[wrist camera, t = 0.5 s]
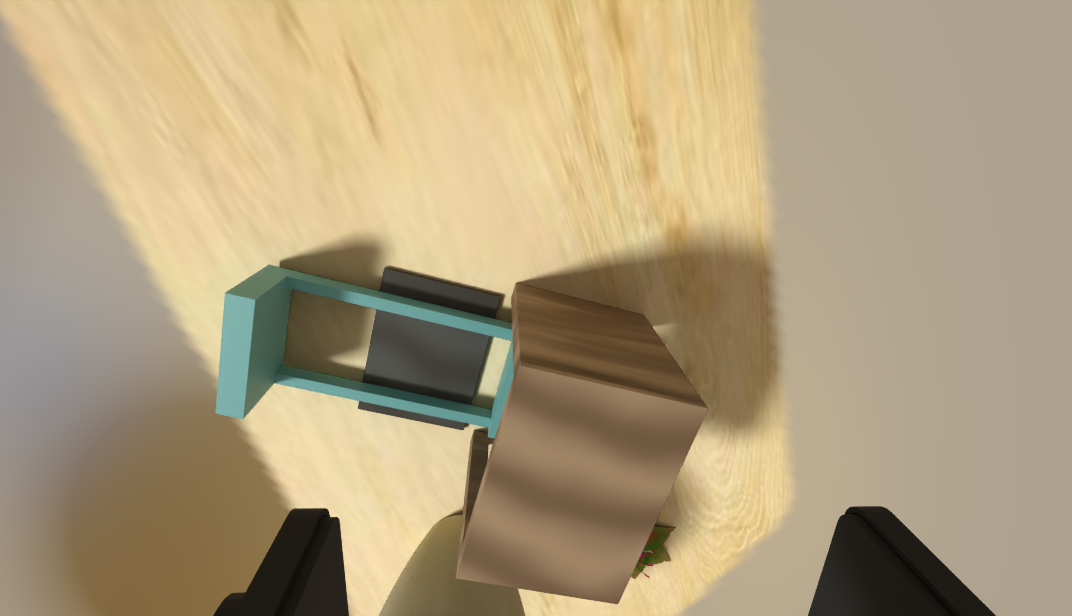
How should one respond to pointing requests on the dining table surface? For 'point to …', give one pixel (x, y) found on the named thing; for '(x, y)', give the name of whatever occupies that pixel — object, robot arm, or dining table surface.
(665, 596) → the dining table surface
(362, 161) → the dining table surface
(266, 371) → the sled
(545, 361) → the tunnel
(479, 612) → the plant pot
